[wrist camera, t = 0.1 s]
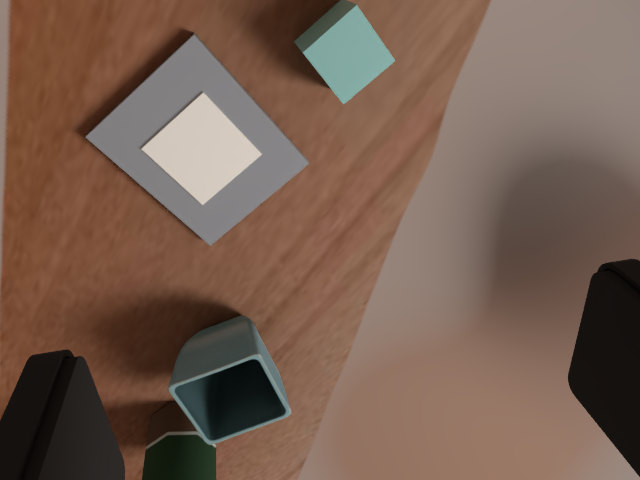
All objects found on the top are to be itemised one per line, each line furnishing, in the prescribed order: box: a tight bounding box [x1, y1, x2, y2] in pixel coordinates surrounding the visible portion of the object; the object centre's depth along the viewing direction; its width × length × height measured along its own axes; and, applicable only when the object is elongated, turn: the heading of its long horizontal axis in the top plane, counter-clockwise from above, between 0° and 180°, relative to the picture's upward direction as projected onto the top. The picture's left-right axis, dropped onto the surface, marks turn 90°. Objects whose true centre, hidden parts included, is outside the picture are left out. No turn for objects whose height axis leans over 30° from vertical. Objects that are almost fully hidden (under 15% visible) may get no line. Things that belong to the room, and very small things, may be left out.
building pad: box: [86, 33, 309, 246], centre depth 45 cm, size 14×12×1 cm
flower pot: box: [168, 316, 291, 445], centre depth 52 cm, size 9×9×9 cm
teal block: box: [294, 0, 395, 104], centre depth 41 cm, size 5×5×5 cm
